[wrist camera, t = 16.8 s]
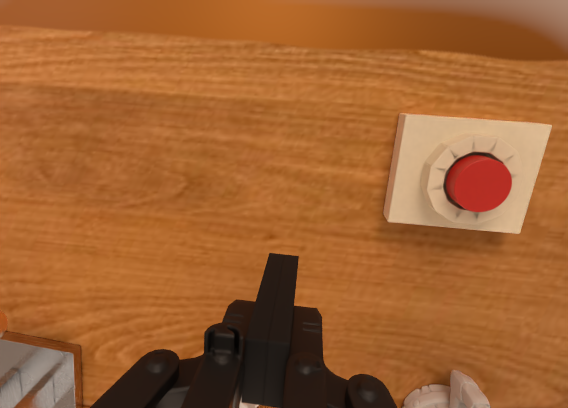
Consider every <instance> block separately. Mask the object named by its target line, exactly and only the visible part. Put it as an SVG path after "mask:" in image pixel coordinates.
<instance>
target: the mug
mask: <svg viewBox="0 0 568 408" xmlns="http://www.w3.org/2000/svg"><path fill="white" fill-rule="evenodd" d="M450 384H451V387H449V386H446V385H437V384H435V385H429V388H428V386H422V388H421V389H415V390H414V391H412V392H411V393H410V394H409V395H408V396H407V397H406V398H405V400H404V406H403V407H402V408H491V407H490V404H489V401H488V399H487V398H486V396H485V395H484V394H483V393H482V392H481V391H480V389H479V387H478V385H477V384H476V383H475V382H474V381H473V380H472V378H471V377H469V376H467V375H465V374H463V373H462V372H460V371H458V370H452V371H451V376H450Z"/></svg>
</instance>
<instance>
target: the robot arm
mask: <svg viewBox="0 0 568 408" xmlns="http://www.w3.org/2000/svg"><path fill="white" fill-rule="evenodd" d="M298 258H299V256H292V255H283V254H274V253H269V257H268V260H267V264H266V267H265V271H264V274H263V278H262V281H261V285H260V288H259V292H258V295H257V299H256V302H252V301H244V300H235V301H234V302H233V303H231V304H230V305H229V306H228V308H227V311H226V313H225V316H224V318H223V322H222V323H218V324H214V325H212V326H211V327H209V328H208V329H207V330H206V331H205V334H204V354H203V355H201V356H198V357H196V358H191V359H183V360H179V357H178V356H177V354H176V353H174V352H173V351H171V350H166V349H161V350H154V351H152V352H149V353H147V354H146V355H144V356H143V357H142V358H140V359H139V360H138V361H137V362H136V363H135V364H134V365H133V366H132V367H131V368H130V369H129V370H128V371H127V372H126V373H125V374H124V375H123V376H122V377H121V378H120V379H119V380H118V381H117V382H116V383H115V384H114V385H113V386H112V387H111V388H110V389H109V390H108V391H106V392H105V393H104V394H103V395H102V396H101V397H100V398H99V399H98V400H97V401H96V402H95V403H94V404H93V405H92V406H91V407H90V408H239V405H240V401H241V397H242V401H241V402H242V403H249V404H256V405H264V406H271V407H278V408H397V406H396V404H395V402H394V400H393V398H392V397H391V395H390V393H389V391H388V389H387V388H386V386H385V385H384V384H383V383H382V382H381V381H380V380H378V379H377V378H375V377H373V376H370V375H366V374H358V375H354V376H352V377H351V378H350V379H349V380H346V379H343V378H341V377H339V376H337V375H335V374H333V373H332V372H331V371H330V370H329V369H328V368H327V367H326V365H325V363H324V360H323V341H322V316H321V314H320V313H319V311H318V310H317V308H309V307H301V306H294V299H295V289H296V278H297V268H298Z"/></svg>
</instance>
